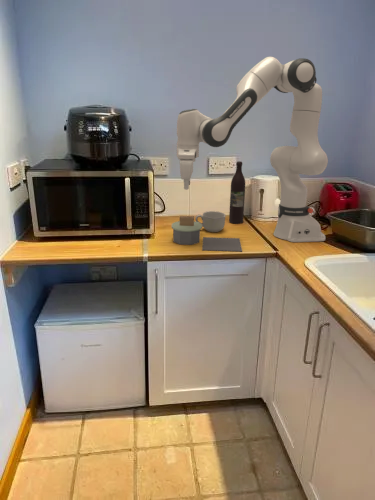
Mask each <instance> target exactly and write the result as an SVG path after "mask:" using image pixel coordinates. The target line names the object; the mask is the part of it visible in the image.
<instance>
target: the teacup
mask: <svg viewBox="0 0 375 500" xmlns="http://www.w3.org/2000/svg"><path fill="white" fill-rule="evenodd" d="M198 218H201V221H202V222H200V221H199V219H198ZM194 221H195V222H199V223H201V224H202V228H204V229H205V230H206V231H207V232H209V233H219V232H221V231H222V230H223V229H224V228H225V225H226V213H225V212H221V211H215V210H208V211H205V212H202V214H197V215H196V216H195V217H194Z"/></svg>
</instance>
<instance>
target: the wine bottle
mask: <svg viewBox="0 0 375 500" xmlns="http://www.w3.org/2000/svg"><path fill="white" fill-rule="evenodd" d="M235 166H236V169H235V173H234V174H233V177H232V179H231V181H230V196H229V198H230V199H229V214H228V215H229V217H228V221H229V223H231V224H233V225H234V224H235V225H236V224H237V225H239V224H242V223H243V222H244V212H245V198H246V197H245V196H246V179H245V176H244V174H243V170H242V169H243V162H242V161H236V164H235Z"/></svg>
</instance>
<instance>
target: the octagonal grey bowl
mask: <svg viewBox="0 0 375 500" xmlns="http://www.w3.org/2000/svg"><path fill="white" fill-rule="evenodd" d="M172 231H173V232H172V233H173V234H172V236H173V237H172V239H173V240H172V242H173V243H175V244H178V245H184V246H186V245H187V246H192V245H196V244H198V243H199V244H200V241H201V229H200V230H198V231H192V232H183V231H177V230H174V229H172Z"/></svg>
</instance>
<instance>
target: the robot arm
mask: <svg viewBox="0 0 375 500" xmlns="http://www.w3.org/2000/svg"><path fill="white" fill-rule="evenodd" d="M316 74H317V73H316V68H315V65H314V62H313V61H311V60H310V59H308V58H304V57H303V58H297V59H293V60H291V61H289V62H287V63H285V64H284V63H283V64H282V63H281V62H280V60H278V59H277V58H276V57H273V56H266V57H265V58H263V59H262V60H260V61H259V62H258V63H257V64H255V65H254V66H253V67H251V69H249V71H247V72H246V73H245V75H244V76H243V77H242V78H241V80H240V81H239V82H238V84H237V85H236V88H235V89H236V98H235V100H234V101H233V103H231V105H230V106H229V107H228V108H227V109H226V110H225V111H224V112H223V113H222V115H220V116H218V117H216V118H212V117H209V116H207V115H205V114H203V113H201V112H200V111H199V110H198V109H197V108H192V109H185V110H182V111H181V112H179V113H178V115H177V122H176V136H177V141H176V158H177V159H178V160H179V169H180V170H179V171H180V178H181V180H183V189H184V190H189V189H190V185H191V178H192V175H193V173H194V162H196V159H197V158H199V155H200V153H199V152H200V143H203V144H207V145H208V146H209V147H212V148H219V147H222V146H224V145H225V144H226V143H227V142H228V141H229V139H230V136H231V134H232V132H233V130H234V128H236V126H237V124H239V123H240V121H241V120H243V118H244V117H245V116H246V115H247V114H248V113H249V111H250V110H251V109H252V108H253V107H254V106H255V105H256V104H258V103H259V102H260V101H261V100H263V98H264V97H266V95H267V94H268V93H269V92H270V91H271V90H272V89H273V88H274V89H275V90H276V91H277V92H279V93H283V94H289V93H292V95H293V100H294V101H293V102H294V103H293V107H292V111H291V113H292V114H291V117H290V118H291V119H290V124H289V132H290V133H291V134H292V136H294V137H295V138H296V141H297V146H296V145H295V146H294V145H284V146H282V145H281V146H277V147H275V148H274V149H273V150H272V152H271V154H270V157H269V159H270V160H269V162H270V166H271V167H272V168H273V170H275V172H276V174H277V175H278V179H279V182H280V200H279V201H280V202H279V204H278V208H277V209H278V210H277V222H276V226H275V229H274V232H273V233H272V234H273V235H274V237H276V238H279V239H281V240H285V241H288V242H290V243H307V242H308V243H309V242H311V243H312V242H324V241H326V235H325V234H324V233H323V232H322V228H321V225H320V223H319V221H317V220H316V219H315V217H313V216H312V215H310V214H313V212H314V210H313V209H312V208H311V207H310V206H308V205H307V202H308V201H307V199H308V191H309V190H308V187H307V185H306V184H305V183H304V182H303V181H302V179H301V176H300V175H304V176H305V175H306V176H316V175H317V176H318V175H321V174H323V172H324V171H325V170H326V168H327V166H328V162H329V161H328V160H329V159H328V155H327V153H326V151H324V150H323V148H322V147H321V145H320V141H319V135H318V133H319V132H318V130H319V123H320V116H321V113H322V112H321V110H322V105H323V103H322V102H323V89H322V86H321V85H320V84H318V83H317V75H316Z"/></svg>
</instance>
